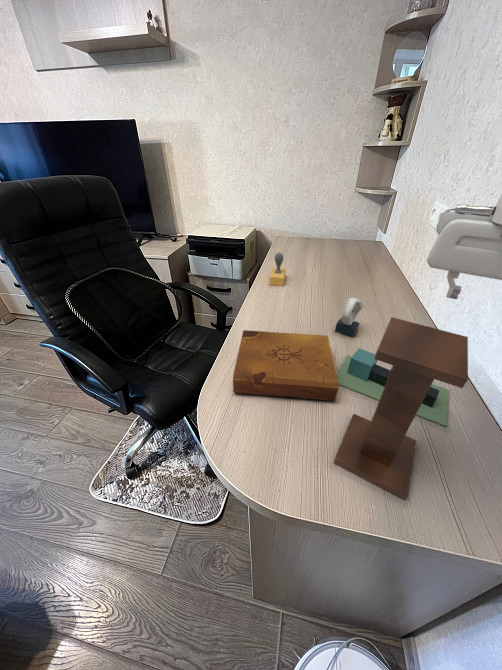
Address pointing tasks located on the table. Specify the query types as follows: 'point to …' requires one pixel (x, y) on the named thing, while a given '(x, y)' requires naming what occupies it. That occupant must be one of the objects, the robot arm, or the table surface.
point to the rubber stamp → (278, 272)
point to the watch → (349, 318)
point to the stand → (401, 402)
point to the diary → (285, 365)
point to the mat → (375, 390)
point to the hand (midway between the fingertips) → (485, 304)
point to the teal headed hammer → (379, 373)
